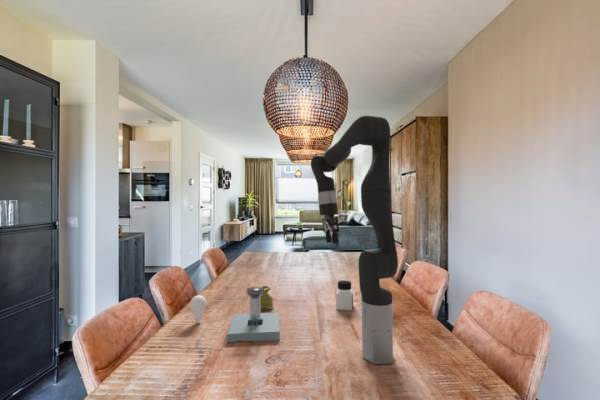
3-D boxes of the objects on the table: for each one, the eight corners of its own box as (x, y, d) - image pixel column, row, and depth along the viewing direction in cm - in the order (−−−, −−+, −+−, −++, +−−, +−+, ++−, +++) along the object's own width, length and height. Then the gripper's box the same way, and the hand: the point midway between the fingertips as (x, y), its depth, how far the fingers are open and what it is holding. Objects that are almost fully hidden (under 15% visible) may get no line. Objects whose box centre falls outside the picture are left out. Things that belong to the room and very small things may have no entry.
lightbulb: (201, 318, 123) (200, 292, 123) (209, 322, 119) (209, 295, 119) (187, 323, 119) (187, 296, 119) (195, 327, 115) (195, 299, 115)
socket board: (279, 340, 104) (279, 331, 104) (227, 342, 102) (227, 334, 102) (278, 319, 122) (278, 312, 122) (234, 321, 120) (234, 314, 120)
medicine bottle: (352, 310, 131) (352, 283, 131) (336, 309, 133) (335, 282, 133) (352, 305, 138) (352, 279, 138) (337, 304, 140) (337, 278, 140)
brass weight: (276, 307, 136) (276, 285, 136) (265, 312, 130) (265, 289, 130) (264, 304, 140) (263, 283, 140) (253, 309, 134) (253, 286, 134)
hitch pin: (263, 333, 109) (262, 291, 109) (246, 334, 109) (246, 291, 109) (263, 326, 115) (263, 286, 115) (247, 327, 115) (247, 287, 115)
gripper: (342, 200, 116) (347, 242, 114) (331, 203, 130) (335, 241, 128) (323, 202, 114) (328, 244, 113) (314, 205, 128) (318, 243, 127)
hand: (332, 242), depth 121 cm, fingers open, 8 cm apart
